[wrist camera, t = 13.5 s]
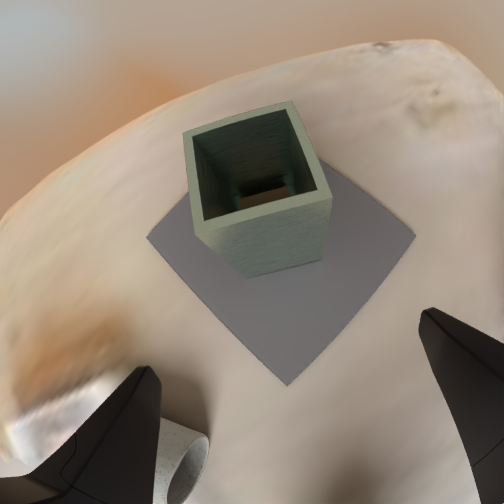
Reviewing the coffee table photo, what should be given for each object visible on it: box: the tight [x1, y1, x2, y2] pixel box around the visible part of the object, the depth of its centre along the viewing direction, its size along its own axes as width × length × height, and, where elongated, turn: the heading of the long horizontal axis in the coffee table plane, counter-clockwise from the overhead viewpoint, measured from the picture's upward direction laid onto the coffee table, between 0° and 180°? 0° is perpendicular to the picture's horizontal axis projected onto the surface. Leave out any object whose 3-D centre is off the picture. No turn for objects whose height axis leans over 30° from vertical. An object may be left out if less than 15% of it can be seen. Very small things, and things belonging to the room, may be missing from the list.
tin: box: [183, 101, 333, 279], centre depth 18 cm, size 6×6×11 cm
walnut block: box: [238, 186, 291, 211], centre depth 21 cm, size 4×4×4 cm
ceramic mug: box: [153, 417, 209, 504], centre depth 16 cm, size 11×8×8 cm
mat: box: [146, 158, 416, 386], centre depth 23 cm, size 18×16×1 cm
